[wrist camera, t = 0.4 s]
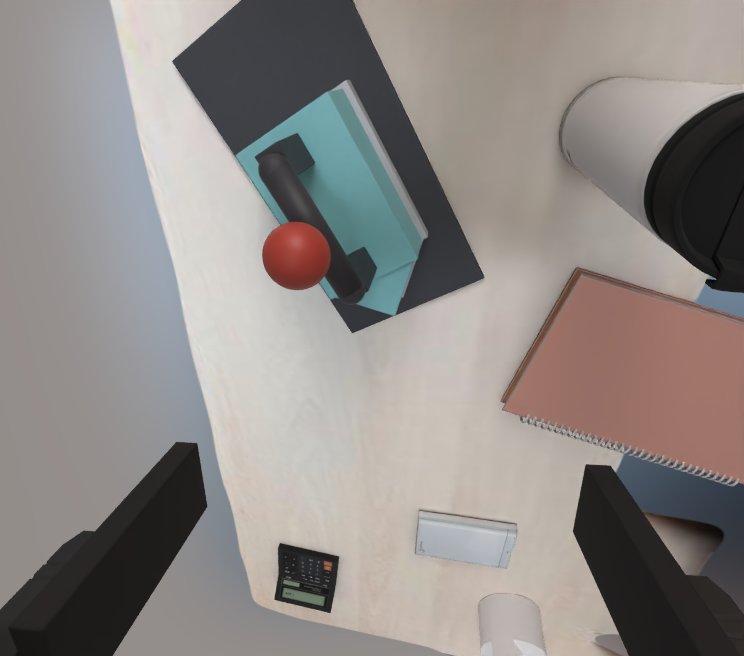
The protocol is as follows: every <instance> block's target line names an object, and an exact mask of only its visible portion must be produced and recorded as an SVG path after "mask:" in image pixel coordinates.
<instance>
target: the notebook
mask: <svg viewBox="0 0 744 656" xmlns="http://www.w3.org/2000/svg"><path fill="white" fill-rule="evenodd" d="M501 402H503V403H505V405H504V407H503V408H502V410H503V411H506V412H509V413H513V414H516V415H519V416H520V420H521V422H522V423H526V422H527V423H528V424H529V425H533V424H534V425H535V427H540V426H541V428H542V429H548V430H549V431H553V430H554V432H555V433H561V434H562V435H567V436H568V437H574V438H575V439H580V440H581V441H587V442H588V443H591V444H592V443H594V444H595V445H598V446H599V445H600V446H601V447H604V448H605V447H607V448H608V449H611V450H612V449H613V450H614V451H620V452H621V453H624V454H625V453H626V454H627V455H630V456H632V455H633V456H634V457H637V458H641V459H643V460H647V461H650V462H652V461H653V462H654V463H657V464H660V465H663V466H667V467H669V468H674V469H676V470H680V471H682V472H687V473H689V474H693V475H695V476H700V477H702V478H707V479H709V480H713V481H715V482H719V483H722V484H726V485H728V486H734V485H736V484H737V483H738V482H739V483H742V484H744V319H743V318H740V317H737V316H734V315H730V314H727V313H724V312H720V311H717V310H714V309H710V308H707V307H704V306H701V305H697V304H694V303H691V302H687V301H684V300H681V299H677V298H674V297H671V296H668V295H664V294H661V293H658V292H654V291H651V290H648V289H645V288H641V287H638V286H635V285H631V284H628V283H625V282H621V281H618V280H615V279H612V278H608V277H605V276H602V275H598V274H595V273H592V272H588V271H585V270H582V269H579V268H576V270H575V272H574V274H573V275H572V277H571V279H570V281H569V282H568V284H567V286H566V288H565V289H564V291H563V293H562V295H561V296H560V298H559V300H558V302H557V303H556V305H555V307H554V309H553V310H552V312H551V314H550V316H549V317H548V319H547V321H546V323H545V324H544V326H543V328H542V330H541V331H540V333H539V335H538V337H537V338H536V340H535V342H534V344H533V345H532V347H531V349H530V351H529V352H528V354H527V356H526V358H525V359H524V361H523V363H522V365H521V366H520V368H519V370H518V372H517V374H516V375H515V377H514V379H513V381H512V382H511V384H510V386H509V388H508V389H507V391H506V393H505V395H504V396H503V398H502V400H501ZM523 417H526V419H525V421H523ZM529 419H532V420H533V421H532V423H530V422H529ZM536 421H539V422H540V423H539V425H536ZM542 423H545V424H546V426H545V427H544V428H543V424H542ZM549 425H552V426H553V428H552V429H551V430H550V429H549ZM556 427H558V428H559V431H557V432H556ZM563 429H565V430H566V432H565V433H564V434H563V433H562V430H563ZM569 431H572V435H571V436H570V435H569ZM576 433H578V434H579V437H577V438H576V436H575V434H576ZM583 435H585V438H586V439H584V440H583V439H582V436H583ZM590 437H591V438H592V441H591V442H589V440H588V439H589V438H590ZM596 439H598V442H599V443H598V444H596V443H595V441H596ZM603 441H604V442H605V446H602V442H603ZM610 443H611V446H612V447H611V448H609V447H608V445H609V444H610ZM616 446H618V450H616V449H615V447H616ZM620 446H621V447H620ZM623 447H624V450H625V452H622V451H621V450H622V449H623ZM630 449H631V454H629V453H628V452H629V450H630ZM633 450H634V452H633ZM636 452H637V454H638V456H635V453H636ZM643 454H644V457H645V458H642V457H641V456H642V455H643ZM646 454H647V456H646ZM649 457H650V458H651V460H648V458H649ZM653 457H654V458H653ZM659 458H660V459H661V460H659ZM656 459H657V461H658V462H655V460H656ZM666 460H667V461H668V462H667V463H666ZM662 461H663V462H664V464H661V462H662ZM672 462H673V463H674V464H672ZM669 463H670V465H671V466H668V464H669ZM679 464H680V465H681V466H680V467H679ZM675 466H677V468H675ZM685 466H686V467H688V468H687V469H686V468H685ZM682 468H683V469H684V470H681V469H682ZM692 468H693V469H694V471H692ZM688 470H690V472H688ZM698 470H699V471H701V472H700V473H699V472H698ZM695 472H696V473H697V474H694V473H695ZM705 472H706V473H708V474H707V475H705ZM702 474H703V476H701V475H702ZM711 474H713V475H715V476H714V477H712V475H711ZM718 476H719V477H721V479H720V480H719V479H718ZM708 477H710V478H708ZM724 478H726V479H728V481H727V482H726V481H725V480H724ZM714 479H716V480H714ZM731 480H732V481H735V482H734V483H733V484H731V485H729V484H728V483H729V482H730V481H731ZM721 481H723V482H724V483H723V482H721Z"/></svg>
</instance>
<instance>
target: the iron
mask: <svg viewBox="0 0 744 656" xmlns="http://www.w3.org/2000/svg"><path fill="white" fill-rule="evenodd" d="M236 158H237V159H238V161H239V162H240V164H241V165H242V167H243V168H244V170H245V171H246V173H247V174H248V176H249V177H250V179H251V180H252V182H253V183H254V185H255V187H256V188H257V190H258V191H259V193H260V194H261V196H262V197H263V199H264V200H265V202H266V203H267V205H268V206H269V208H270V209H271V211H272V212H273V214H274V215H275V217H276V218H277V220H278V221H279V223H280V224H281V225H280V226H278V227H277V228H276V229H274V230H273V231H272V232H271V233H270V234H269V236H268V237H267V239H266V241H265V243H264V246H263V252H262V258H263V264H264V267H265V269H266V271H267V273H268V275H269V276H270V277H271V278H272V279H273V280H274V281H275V282H276V283H277V284H279V285H280V286H282V287H284V288H287V289H291V290H304V289H308V288H311V287H313V286H315V285H316V284H318V283H320V285H321V286H322V288H323V289H324V291H325V292H326V294H327V295H328V297H329V298H330V299H333V298H339V299H340V300H341V301H342V302H343V303H345V304H348V305H353V304H358V305H361V306H364V307H367V308H370V309H374V310H377V311H380V312H383V313H386V314H389V315H393V316H395V315H396V312H397V309H398V306H399V303H400V300H401V297H402V298H403V297H404V294H405V291H406V288H407V285H408V283H409V280H410V277H411V274H412V271H413V268H414V265H415V262H416V260H417V259H418V255H419V251H420V248H421V245H422V242H423V239H425V238H427V237H428V231H427V229H426V227H425V225H424V223H423V221H422V219H421V217H420V215H419V213H418V211H417V209H416V207H415V205H414V204H413V202H412V200H411V198H410V196H409V194H408V192H407V190H406V188H405V186H404V184H403V182H402V180H401V178H400V176H399V174H398V172H397V170H396V169H395V167H394V165H393V163H392V161H391V159H390V157H389V155H388V153H387V151H386V149H385V147H384V145H383V143H382V141H381V139H380V137H379V135H378V134H377V132H376V130H375V128H374V126H373V124H372V122H371V120H370V118H369V116H368V114H367V112H366V110H365V108H364V106H363V104H362V102H361V100H360V99H359V97H358V95H357V93H356V91H355V89H354V87H353V85H352V83H351V81H350V80H345V81H344V82H342V83H341V84H340V85H338V86H337V87H335V88H334V89H332V90H331V91H328V92H326V93H324V94H323V95H321V96H320V97H318V98H317V99H316V100H314V101H313V102H311V103H310V104H308V105H307V106H305V107H304V108H303V109H301V110H300V111H298V112H297V113H295V114H294V115H293V116H291V117H290V118H288V119H287V120H285V121H284V122H282V123H281V124H280V125H278V126H277V127H275V128H274V129H272V130H271V131H270V132H268V133H267V134H265V135H264V136H262V137H261V138H260V139H258V140H257V141H255V142H254V143H252V144H251V145H249V146H248V147H247V148H245V149H244V150H242V151H241V152H239V153H238V154H237V155H236Z"/></svg>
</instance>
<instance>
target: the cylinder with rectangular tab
mask: <svg viewBox="0 0 744 656" xmlns="http://www.w3.org/2000/svg"><path fill="white" fill-rule="evenodd" d="M479 630H480V652H481V655H482V656H547V654H546V648H545V641H544V635H543V629H542V622H541V616H540V610H539V608H538V606H537V605H536V604H535V603H534V602H533V601H531V600H530V599H528V598H525V597H523V596H520V595H515V594H508V593H501V594H493V595H489V596H487V597H485V598H483V599H482V600H481V601H480V603H479Z"/></svg>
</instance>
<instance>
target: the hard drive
mask: <svg viewBox="0 0 744 656" xmlns="http://www.w3.org/2000/svg"><path fill="white" fill-rule="evenodd" d="M516 537H517V525H515V524H508V523H501V522H494V521H487V520H480V519H473V518H466V517H460V516H452V515H446V514H439V513H432V512H425V511H419V518H418V527H417V537H416V546H415V554H416V555H422V556H429V557H435V558H442V559H448V560H454V561H460V562H466V563H472V564H479V565H485V566H491V567H499V568H505V569H507V567H508V563H509V560H510V557H511V553H512V550H513V547H514V543H515V540H516Z"/></svg>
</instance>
